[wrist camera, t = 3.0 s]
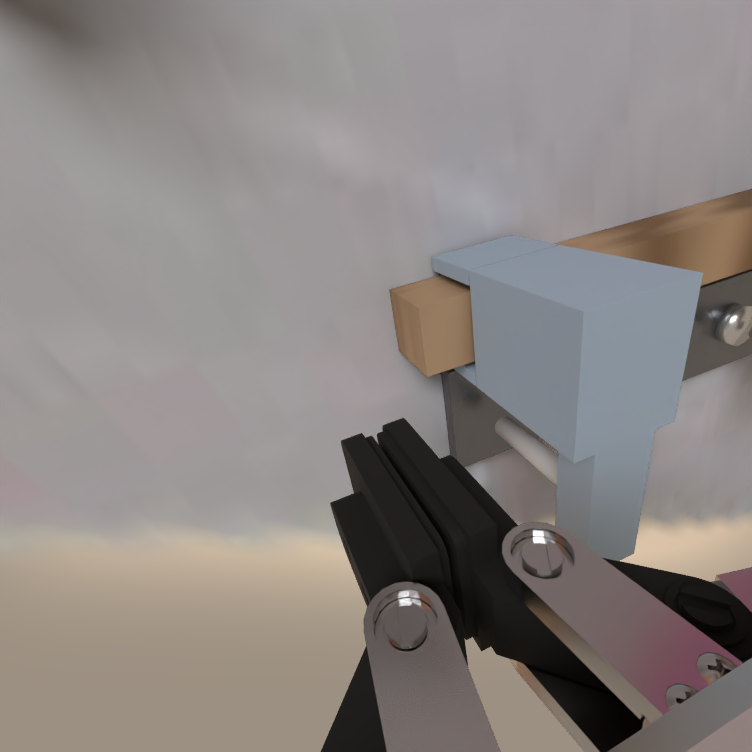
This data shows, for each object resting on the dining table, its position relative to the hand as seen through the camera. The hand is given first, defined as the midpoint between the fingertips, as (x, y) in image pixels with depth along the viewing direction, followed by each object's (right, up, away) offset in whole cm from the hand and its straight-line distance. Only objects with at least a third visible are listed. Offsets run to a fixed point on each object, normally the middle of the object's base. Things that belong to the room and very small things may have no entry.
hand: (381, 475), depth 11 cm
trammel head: (+5, +3, +10) cm, 12 cm away
